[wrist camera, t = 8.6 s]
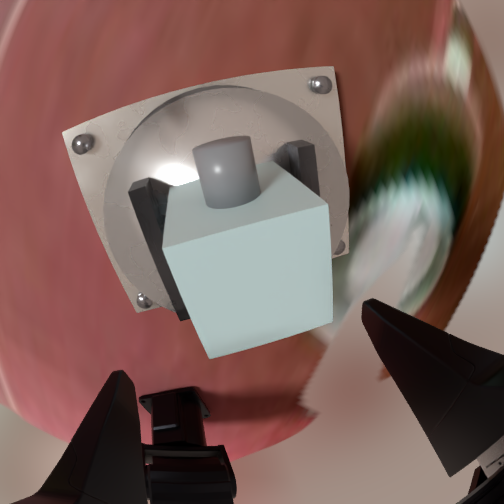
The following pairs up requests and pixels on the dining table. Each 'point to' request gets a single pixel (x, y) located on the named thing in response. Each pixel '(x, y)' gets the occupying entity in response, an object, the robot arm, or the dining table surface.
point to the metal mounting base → (184, 168)
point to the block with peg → (248, 249)
